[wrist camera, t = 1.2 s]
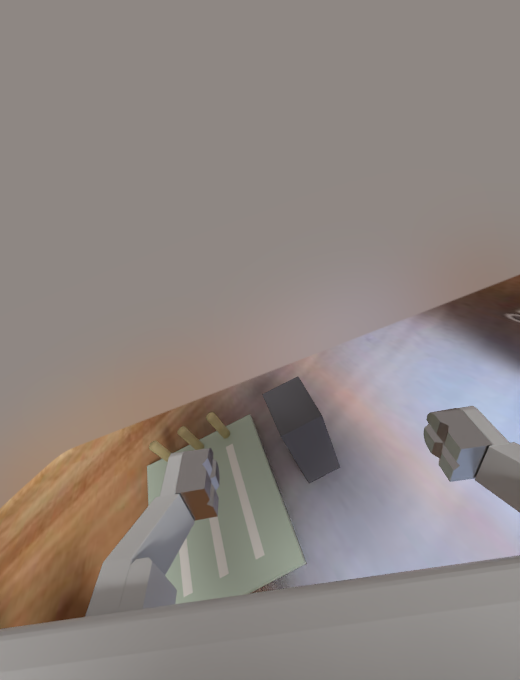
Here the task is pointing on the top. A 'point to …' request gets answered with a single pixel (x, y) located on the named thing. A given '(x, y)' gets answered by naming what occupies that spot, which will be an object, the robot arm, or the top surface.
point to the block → (302, 429)
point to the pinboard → (232, 519)
